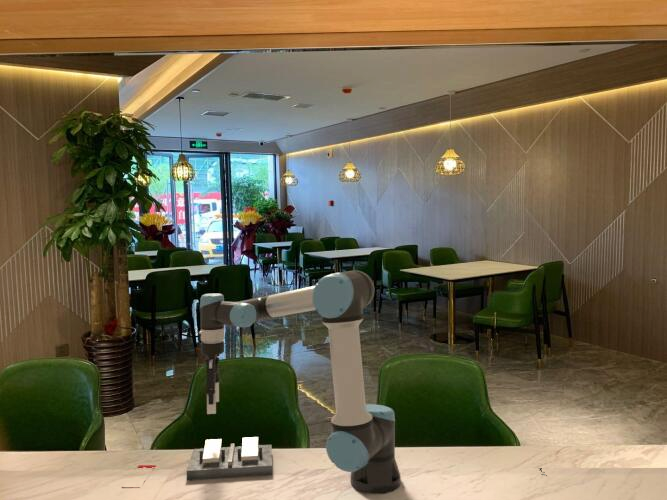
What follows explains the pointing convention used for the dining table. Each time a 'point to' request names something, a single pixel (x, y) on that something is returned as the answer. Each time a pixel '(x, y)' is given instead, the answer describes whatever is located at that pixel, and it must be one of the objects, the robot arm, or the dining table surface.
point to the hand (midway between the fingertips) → (213, 407)
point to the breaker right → (250, 448)
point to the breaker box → (230, 464)
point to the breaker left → (212, 450)
